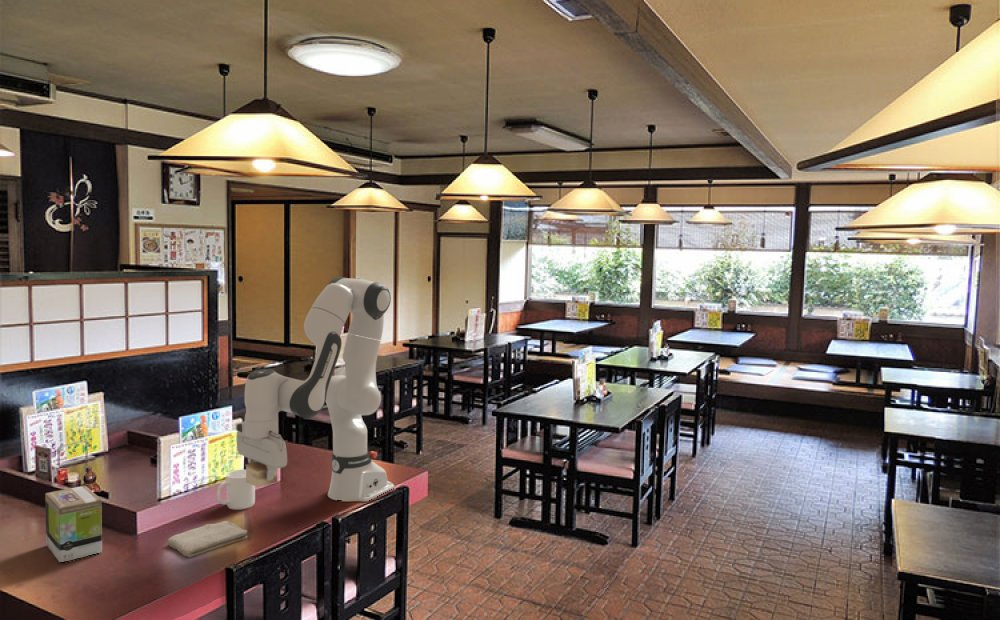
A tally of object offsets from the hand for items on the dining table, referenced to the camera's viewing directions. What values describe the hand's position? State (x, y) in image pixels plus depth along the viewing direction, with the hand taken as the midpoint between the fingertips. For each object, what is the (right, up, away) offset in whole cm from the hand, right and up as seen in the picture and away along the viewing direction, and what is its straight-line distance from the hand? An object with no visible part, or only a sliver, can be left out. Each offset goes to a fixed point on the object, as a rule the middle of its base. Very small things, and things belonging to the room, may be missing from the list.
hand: (261, 476), depth 191 cm
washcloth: (-13, -18, -3) cm, 23 cm away
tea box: (-46, -17, -10) cm, 50 cm away
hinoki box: (0, -2, 0) cm, 2 cm away
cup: (-16, -15, +22) cm, 31 cm away
